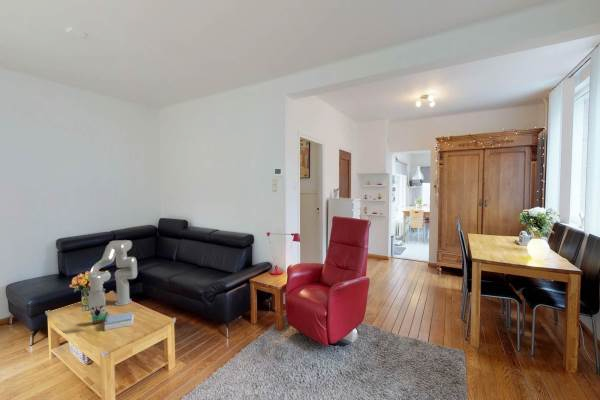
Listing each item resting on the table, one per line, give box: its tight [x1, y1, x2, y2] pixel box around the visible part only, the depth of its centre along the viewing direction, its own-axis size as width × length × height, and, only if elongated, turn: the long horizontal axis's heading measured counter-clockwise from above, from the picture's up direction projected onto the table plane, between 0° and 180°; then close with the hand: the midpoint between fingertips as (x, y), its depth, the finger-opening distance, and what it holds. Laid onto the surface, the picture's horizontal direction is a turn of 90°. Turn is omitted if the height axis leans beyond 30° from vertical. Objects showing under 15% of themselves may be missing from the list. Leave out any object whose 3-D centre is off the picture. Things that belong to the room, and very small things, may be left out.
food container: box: [90, 308, 109, 326], centre depth 214 cm, size 12×6×10 cm, turn 105°
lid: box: [104, 311, 134, 326], centre depth 213 cm, size 12×17×3 cm
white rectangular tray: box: [104, 315, 134, 332], centre depth 213 cm, size 12×17×4 cm
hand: (97, 315), depth 206 cm, fingers closed
